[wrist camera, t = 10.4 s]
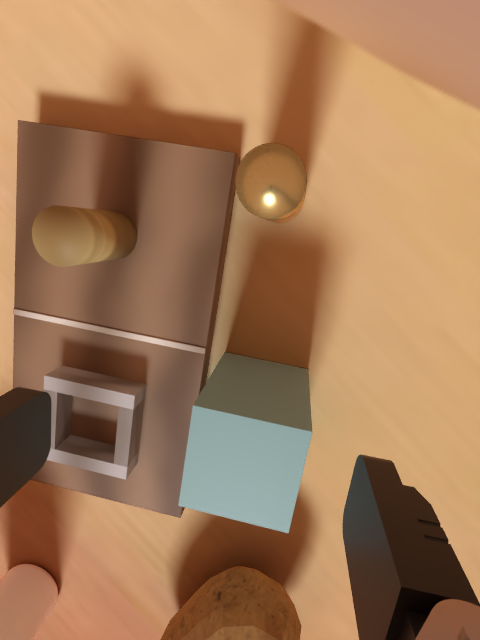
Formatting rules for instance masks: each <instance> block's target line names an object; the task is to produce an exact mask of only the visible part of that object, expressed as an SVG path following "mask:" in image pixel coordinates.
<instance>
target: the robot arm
mask: <svg viewBox="0 0 480 640" xmlns="http://www.w3.org/2000/svg"><path fill="white" fill-rule="evenodd" d="M51 404H52V403H51V397H50V395H49V393H47V392H43V391H38V390H33V389H28V388H23V387H16V388H14V389H12V390H11V391H9V392H7V393H5V394H4V395H2V396H0V507H1V506H2V505H4V504H5V503H6V502H7V501H8V500H9V499H10V498H11V497H12V496H13V495H14V494H15V493H16V492H17V491H18V490H19V489H20V488H21V487H22V486H23V485H25V484H26V483H27V482H28V481H29V480H30V479H31V478H32V477H33V476H34V475H35V474H36V473H37V472H38V471H39V470H40V469H41V468H42V467H43V465H44V464H45V462H46V460H47V458H48V455H49V452H50V448H51ZM343 539H344V545H345V552H346V558H347V564H348V571H349V577H350V584H351V590H352V596H353V603H354V609H355V615H356V622H357V628H358V634H359V640H480V603H479V601H478V599H477V597H476V595H475V593H474V591H473V589H472V587H471V585H470V583H469V581H468V579H467V577H466V575H465V573H464V571H463V569H462V567H461V565H460V563H459V561H458V559H457V557H456V555H455V553H454V551H453V549H452V546H451V544H448V538H447V536H446V534H445V532H444V530H443V528H441V527H440V522H439V520H438V518H437V516H436V514H435V512H434V510H433V508H432V506H431V504H430V503H429V502H428V501H427V500H426V499H425V498H424V497H423V496H422V495H421V494H420V493H419V492H418V491H417V490H416V489H415V488H414V487H410V486H405V485H403V484H402V482H401V480H400V477H399V475H398V472H397V470H396V468H395V465H394V463H393V462H392V461H390V460H385V459H380V458H375V457H370V456H365V455H359V456H358V458H357V460H356V463H355V467H354V471H353V476H352V480H351V484H350V488H349V492H348V496H347V500H346V504H345V509H344V515H343Z"/></svg>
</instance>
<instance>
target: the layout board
mask: <svg viewBox="0 0 480 640" xmlns="http://www.w3.org/2000/svg"><path fill="white" fill-rule="evenodd" d="M239 163H240V158H239V157H238V156H237V155H236V153H233V152H226V151H220V150H213V149H206V148H200V147H193V146H187V145H180V144H173V143H167V142H160V141H154V140H147V139H140V138H134V137H127V136H121V135H114V134H107V133H101V132H94V131H87V130H81V129H74V128H68V127H61V126H54V125H48V124H41V123H35V122H28V121H21V120H18V144H17V197H16V251H15V304H14V309H13V314H14V357H13V389H14V388H16V387H23V388H28V389H33V390H38V391H43V392H47V393H49V395H50V397H51V403H52V404H51V448H50V452H49V455H48V458H47V460H46V462H45V464H44V465H43V467H42V468H41V469H40V470H39V471H38V472H37V473H36V474H35V475H34V476H33V477H32V478H31V480H35V481H38V482H42V483H46V484H50V485H54V486H58V487H62V488H66V489H70V490H74V491H77V492H81V493H85V494H89V495H93V496H97V497H101V498H105V499H109V500H113V501H116V502H120V503H124V504H128V505H132V506H136V507H140V508H144V509H148V510H152V511H155V512H159V513H163V514H167V515H171V516H175V517H179V518H181V515H182V513H183V510H184V508H185V507H181V506H178V505H179V498H180V491H181V484H182V477H183V470H184V463H185V456H186V449H187V443H188V436H189V429H190V422H191V415H192V408H193V404H194V403H195V401H196V399H197V398H198V396H199V394H200V393H201V391H202V390H203V388H204V386H205V384H206V378H207V371H208V365H209V358H210V352H211V345H212V339H213V332H214V326H215V319H216V313H217V306H218V300H219V293H220V287H221V280H222V274H223V267H224V261H225V254H226V247H227V241H228V234H229V228H230V221H231V215H232V208H233V202H234V195H235V189H236V185H235V179H236V173H237V169H238V166H239Z"/></svg>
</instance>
